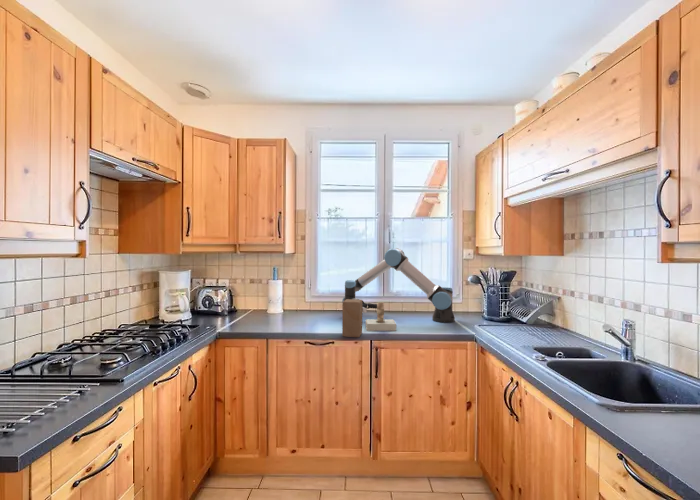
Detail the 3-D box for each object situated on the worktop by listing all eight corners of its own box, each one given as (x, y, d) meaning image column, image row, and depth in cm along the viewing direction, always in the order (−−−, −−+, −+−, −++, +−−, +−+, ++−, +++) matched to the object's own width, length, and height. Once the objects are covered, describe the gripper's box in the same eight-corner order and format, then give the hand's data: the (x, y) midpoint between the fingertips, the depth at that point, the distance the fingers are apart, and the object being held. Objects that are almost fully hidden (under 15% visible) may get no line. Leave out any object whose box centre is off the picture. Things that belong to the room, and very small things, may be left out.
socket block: (393, 325, 236) (393, 319, 236) (396, 330, 223) (396, 324, 223) (365, 325, 235) (365, 319, 235) (366, 330, 222) (366, 323, 222)
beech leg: (383, 327, 231) (383, 302, 231) (384, 328, 227) (384, 303, 226) (376, 327, 231) (376, 302, 231) (377, 328, 227) (377, 303, 226)
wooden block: (359, 337, 206) (359, 302, 205) (342, 336, 208) (342, 301, 207) (362, 333, 216) (362, 299, 215) (345, 332, 218) (346, 299, 217)
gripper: (372, 308, 258) (390, 313, 240) (341, 311, 246) (358, 317, 227) (372, 297, 258) (390, 302, 240) (341, 300, 245) (358, 305, 227)
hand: (374, 309), depth 234 cm, fingers open, 13 cm apart
